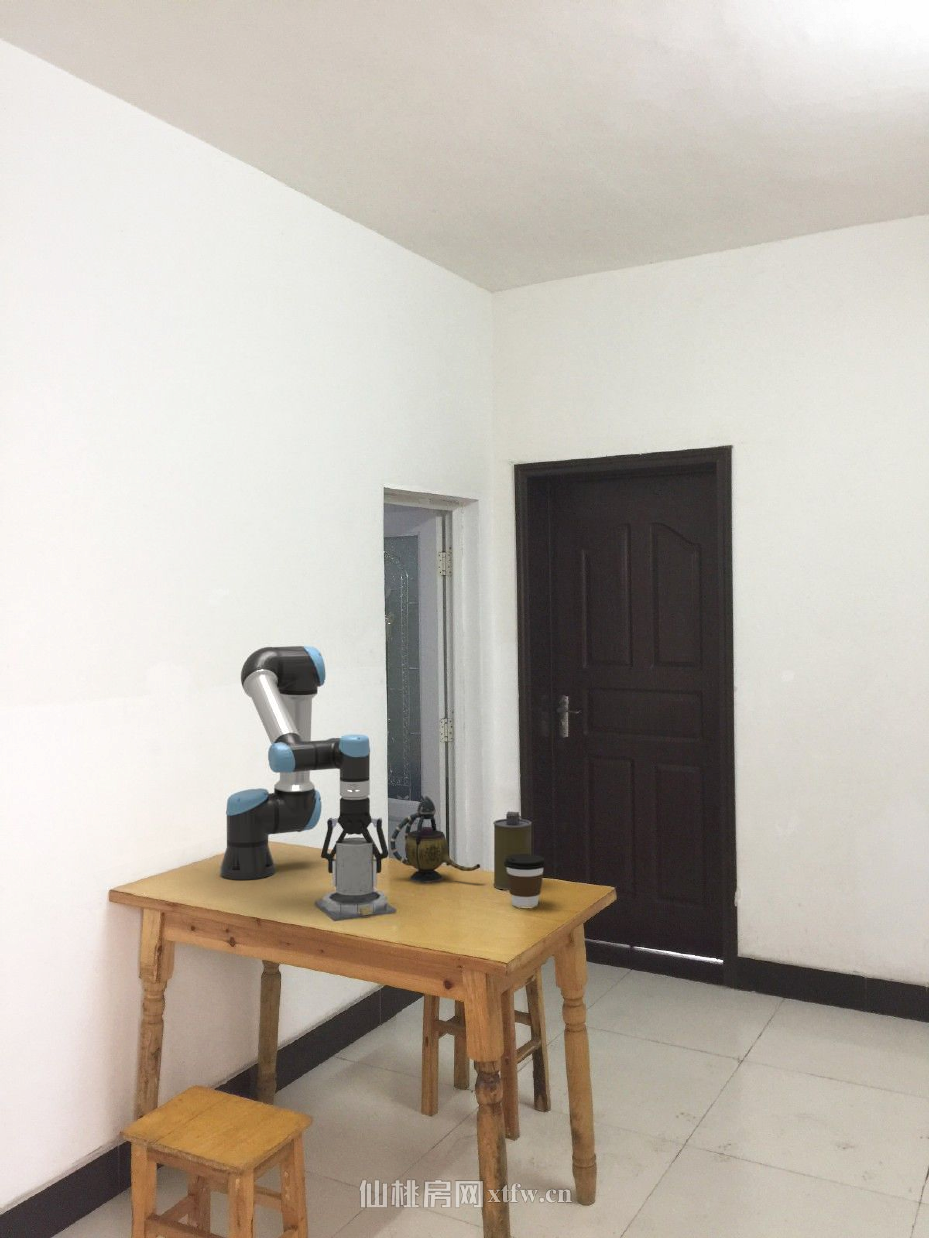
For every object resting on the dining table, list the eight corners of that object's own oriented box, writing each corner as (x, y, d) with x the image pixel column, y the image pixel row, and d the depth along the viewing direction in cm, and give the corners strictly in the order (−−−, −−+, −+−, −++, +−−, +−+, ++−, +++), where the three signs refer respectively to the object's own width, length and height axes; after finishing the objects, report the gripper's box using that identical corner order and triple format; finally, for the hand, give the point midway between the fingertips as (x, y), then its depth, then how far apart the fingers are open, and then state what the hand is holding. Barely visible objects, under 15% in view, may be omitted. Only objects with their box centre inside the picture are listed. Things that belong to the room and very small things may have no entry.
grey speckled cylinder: (357, 883, 272) (357, 835, 271) (381, 890, 265) (381, 841, 265) (328, 890, 265) (327, 841, 265) (352, 897, 258) (352, 847, 258)
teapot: (407, 870, 303) (407, 790, 302) (487, 879, 293) (487, 796, 292) (388, 880, 292) (387, 797, 291) (470, 890, 282) (470, 803, 281)
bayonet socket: (313, 902, 270) (313, 891, 270) (372, 895, 276) (372, 884, 276) (335, 921, 253) (335, 909, 253) (397, 913, 260) (397, 901, 260)
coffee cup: (517, 913, 260) (517, 865, 260) (495, 902, 270) (495, 856, 270) (554, 907, 265) (554, 860, 265) (532, 897, 275) (532, 851, 275)
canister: (528, 892, 280) (528, 817, 280) (490, 889, 282) (490, 815, 282) (534, 881, 291) (534, 809, 290) (497, 879, 293) (497, 807, 292)
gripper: (308, 799, 261) (308, 889, 261) (397, 799, 261) (398, 889, 261) (312, 794, 268) (313, 881, 268) (399, 794, 268) (399, 881, 269)
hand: (354, 885), depth 265 cm, fingers closed on grey speckled cylinder, 9 cm apart
